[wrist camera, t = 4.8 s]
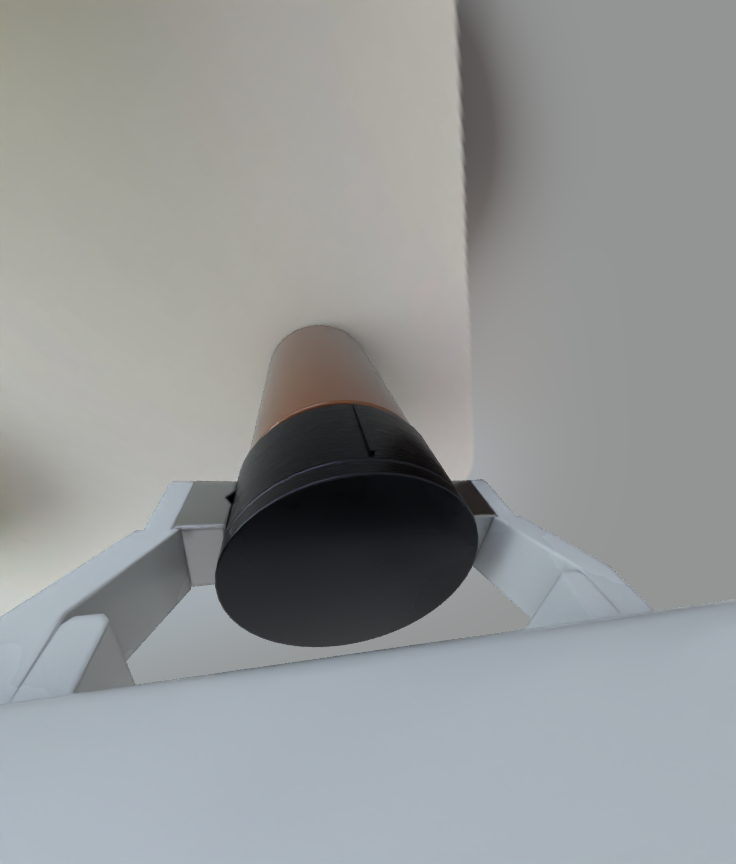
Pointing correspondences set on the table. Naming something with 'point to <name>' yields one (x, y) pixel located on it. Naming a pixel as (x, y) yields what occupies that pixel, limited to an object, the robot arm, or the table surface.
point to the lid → (341, 530)
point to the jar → (319, 377)
